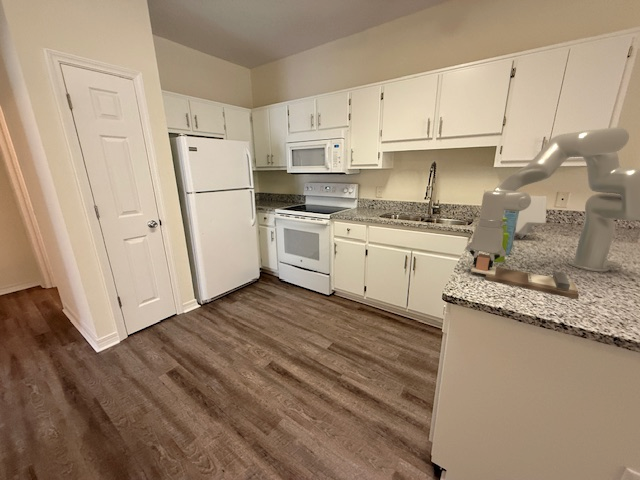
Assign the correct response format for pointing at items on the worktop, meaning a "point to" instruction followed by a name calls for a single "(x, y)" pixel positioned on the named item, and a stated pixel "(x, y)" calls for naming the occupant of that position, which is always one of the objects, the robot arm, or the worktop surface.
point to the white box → (531, 216)
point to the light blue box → (511, 227)
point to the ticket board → (536, 282)
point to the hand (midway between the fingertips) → (482, 267)
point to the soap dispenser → (504, 242)
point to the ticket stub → (483, 265)
